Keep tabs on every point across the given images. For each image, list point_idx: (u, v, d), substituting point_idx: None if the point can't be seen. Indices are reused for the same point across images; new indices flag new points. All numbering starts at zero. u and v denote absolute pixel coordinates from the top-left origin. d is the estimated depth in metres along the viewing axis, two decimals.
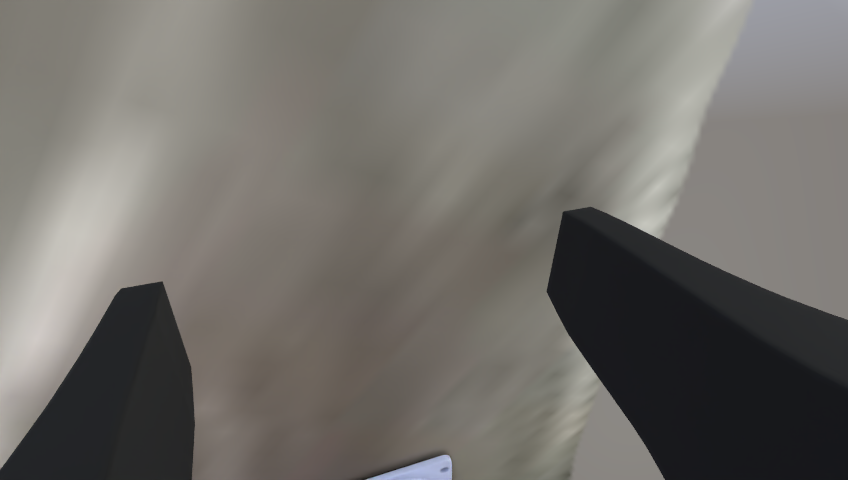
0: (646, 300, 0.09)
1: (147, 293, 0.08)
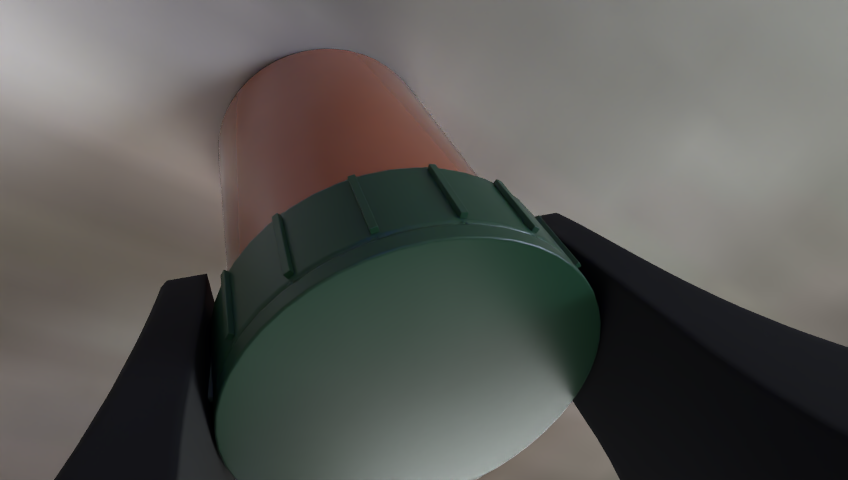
0: (605, 309, 0.09)
1: (194, 285, 0.09)
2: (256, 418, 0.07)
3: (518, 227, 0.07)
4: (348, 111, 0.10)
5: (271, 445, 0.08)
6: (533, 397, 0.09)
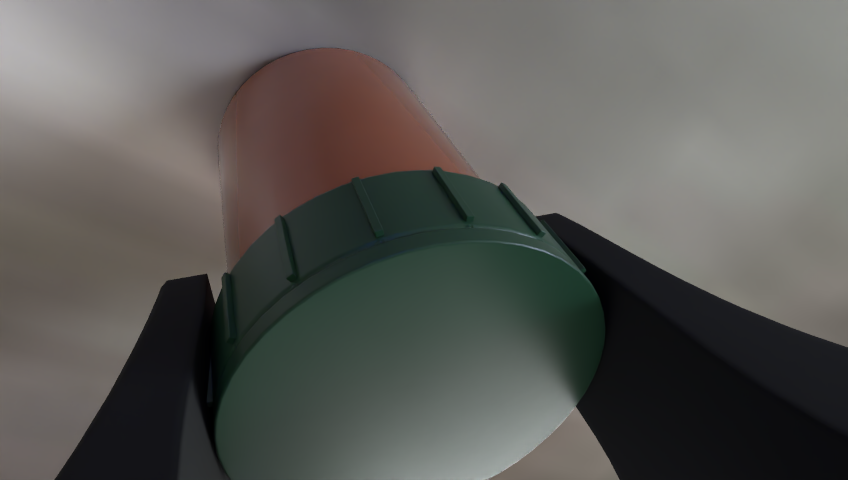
0: (605, 309, 0.09)
1: (194, 285, 0.09)
2: None
3: (223, 362, 0.07)
4: (335, 112, 0.10)
5: None
6: (482, 300, 0.07)
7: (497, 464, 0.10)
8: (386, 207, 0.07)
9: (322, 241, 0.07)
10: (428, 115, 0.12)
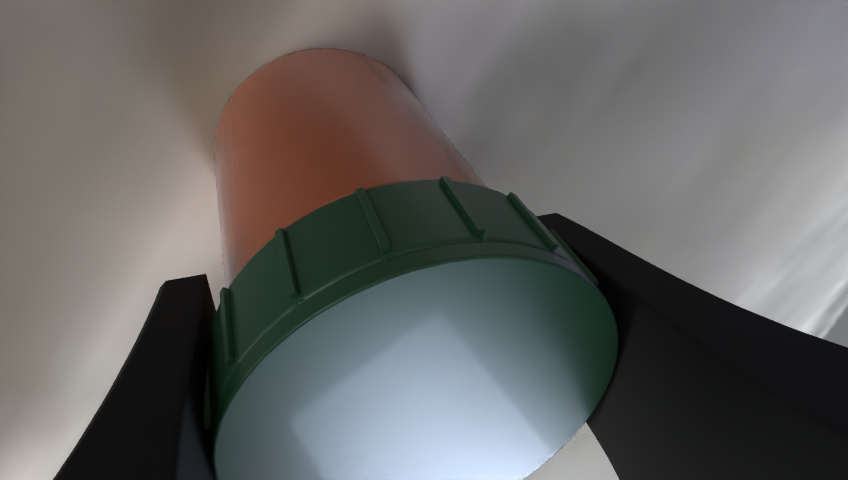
0: None
1: (193, 285, 0.09)
2: None
3: (222, 383, 0.07)
4: None
5: None
6: (493, 316, 0.07)
7: None
8: (392, 220, 0.07)
9: (325, 256, 0.07)
10: None
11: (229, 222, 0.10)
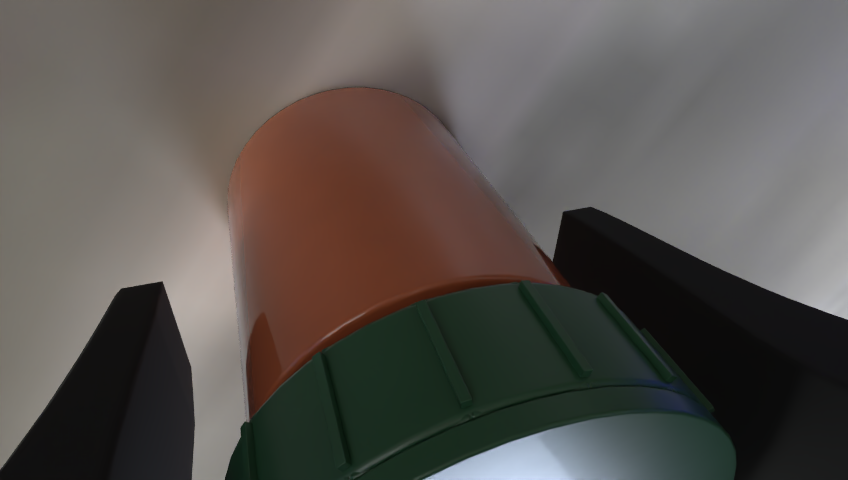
0: (646, 300, 0.09)
1: (147, 293, 0.08)
2: None
3: None
4: None
5: None
6: (596, 475, 0.05)
7: None
8: (469, 354, 0.05)
9: (383, 406, 0.05)
10: None
11: (248, 307, 0.08)
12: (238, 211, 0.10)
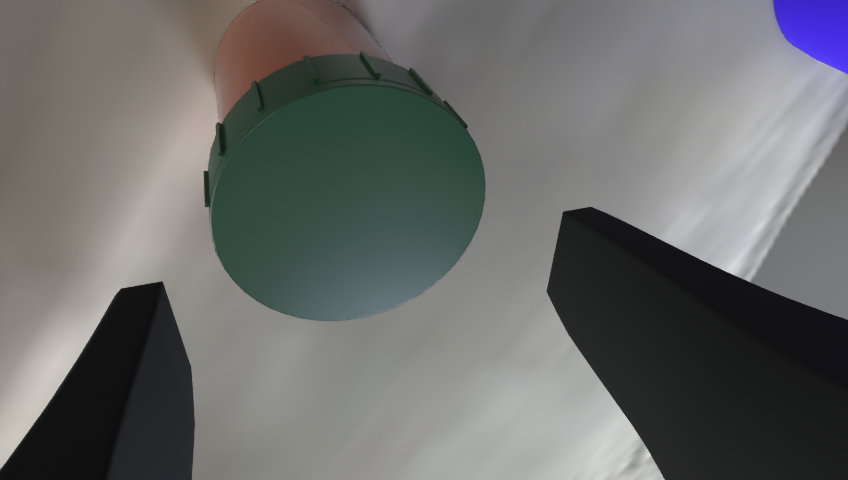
0: (646, 300, 0.09)
1: (147, 293, 0.08)
2: (340, 304, 0.13)
3: (216, 169, 0.11)
4: None
5: (368, 295, 0.13)
6: (388, 133, 0.11)
7: (416, 285, 0.14)
8: (323, 69, 0.11)
9: (280, 89, 0.11)
10: None
11: (224, 102, 0.14)
12: (220, 65, 0.16)
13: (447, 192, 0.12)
